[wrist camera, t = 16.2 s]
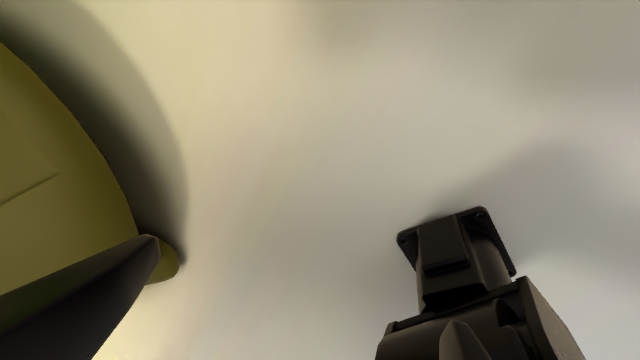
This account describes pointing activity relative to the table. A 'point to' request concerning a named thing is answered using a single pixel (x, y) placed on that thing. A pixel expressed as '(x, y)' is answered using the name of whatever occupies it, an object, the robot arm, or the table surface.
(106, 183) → the spaceship
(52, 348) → the robot arm
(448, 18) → the table surface
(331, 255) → the table surface
